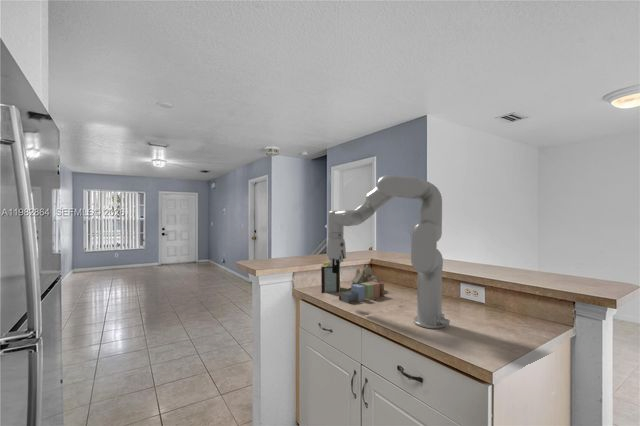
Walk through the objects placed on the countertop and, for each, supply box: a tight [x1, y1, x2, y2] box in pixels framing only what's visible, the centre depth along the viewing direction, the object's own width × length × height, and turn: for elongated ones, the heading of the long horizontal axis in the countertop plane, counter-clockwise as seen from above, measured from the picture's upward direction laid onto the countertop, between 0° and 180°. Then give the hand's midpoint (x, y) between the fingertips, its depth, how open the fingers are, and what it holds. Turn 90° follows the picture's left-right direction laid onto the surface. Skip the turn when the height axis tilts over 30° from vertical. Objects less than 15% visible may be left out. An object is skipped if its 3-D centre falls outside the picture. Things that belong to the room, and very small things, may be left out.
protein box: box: [320, 261, 341, 294], centre depth 181 cm, size 10×15×16 cm
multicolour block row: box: [338, 281, 385, 305], centre depth 160 cm, size 9×23×8 cm, turn 124°
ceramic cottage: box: [351, 264, 381, 285], centre depth 178 cm, size 16×16×15 cm
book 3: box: [367, 281, 381, 299], centre depth 165 cm, size 6×4×7 cm, turn 34°
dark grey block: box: [340, 290, 358, 304], centre depth 156 cm, size 6×6×4 cm
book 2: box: [361, 283, 374, 299], centre depth 163 cm, size 6×4×7 cm, turn 34°
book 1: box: [350, 284, 365, 301], centre depth 159 cm, size 6×4×7 cm, turn 33°
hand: (335, 272), depth 151 cm, fingers closed
